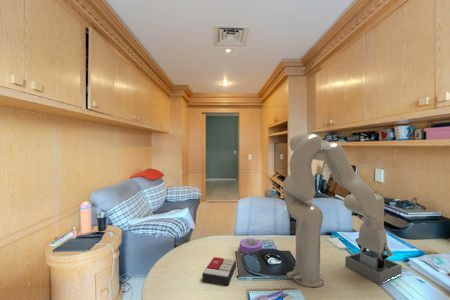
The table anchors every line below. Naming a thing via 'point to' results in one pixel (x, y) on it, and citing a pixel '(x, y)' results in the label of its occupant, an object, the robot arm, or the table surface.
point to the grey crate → (377, 277)
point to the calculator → (219, 271)
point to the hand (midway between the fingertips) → (372, 263)
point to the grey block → (370, 260)
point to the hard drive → (337, 243)
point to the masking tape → (250, 245)
